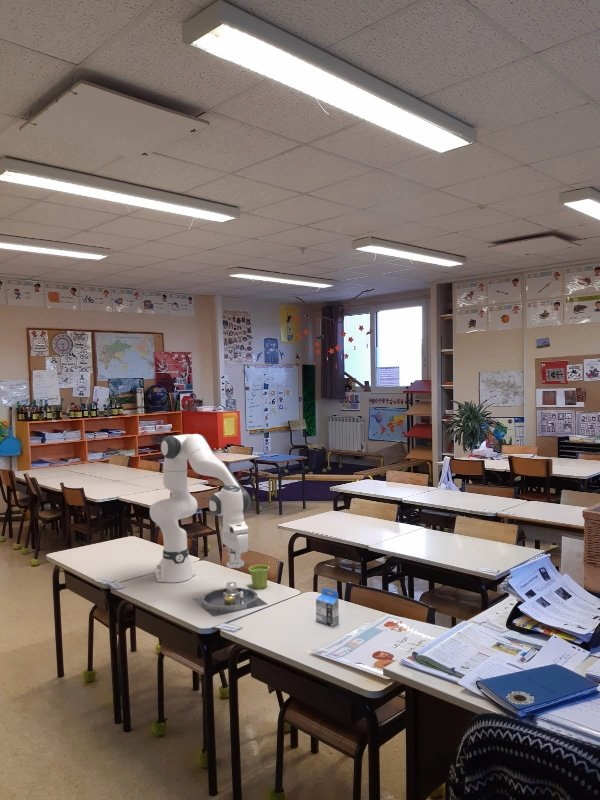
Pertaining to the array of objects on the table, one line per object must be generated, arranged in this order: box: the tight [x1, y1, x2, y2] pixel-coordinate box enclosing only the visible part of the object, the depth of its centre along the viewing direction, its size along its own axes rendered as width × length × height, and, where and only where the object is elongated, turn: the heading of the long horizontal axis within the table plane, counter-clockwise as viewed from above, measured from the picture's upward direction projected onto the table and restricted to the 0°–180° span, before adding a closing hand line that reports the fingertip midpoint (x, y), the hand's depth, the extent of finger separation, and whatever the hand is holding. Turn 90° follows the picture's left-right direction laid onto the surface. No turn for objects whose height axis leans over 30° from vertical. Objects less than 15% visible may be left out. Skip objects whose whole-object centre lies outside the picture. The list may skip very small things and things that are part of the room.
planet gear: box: [226, 550, 245, 569], centre depth 246 cm, size 7×7×6 cm
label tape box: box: [315, 586, 340, 627], centre depth 228 cm, size 9×4×12 cm, turn 45°
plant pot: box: [248, 564, 270, 590], centre depth 272 cm, size 9×9×9 cm
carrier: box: [192, 581, 268, 618], centre depth 251 cm, size 24×24×7 cm
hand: (235, 559), depth 246 cm, fingers closed on planet gear, 4 cm apart
